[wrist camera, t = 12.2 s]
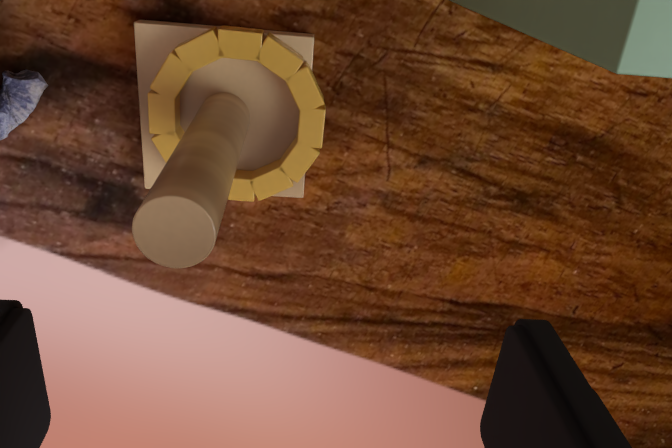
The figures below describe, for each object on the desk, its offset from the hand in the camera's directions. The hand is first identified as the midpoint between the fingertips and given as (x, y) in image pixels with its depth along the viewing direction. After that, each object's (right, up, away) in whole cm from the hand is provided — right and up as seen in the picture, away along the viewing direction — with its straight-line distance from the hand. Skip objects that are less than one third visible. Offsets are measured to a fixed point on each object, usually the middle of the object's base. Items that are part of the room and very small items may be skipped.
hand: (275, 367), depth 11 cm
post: (-4, +8, +17) cm, 19 cm away
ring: (-3, +8, +16) cm, 18 cm away
